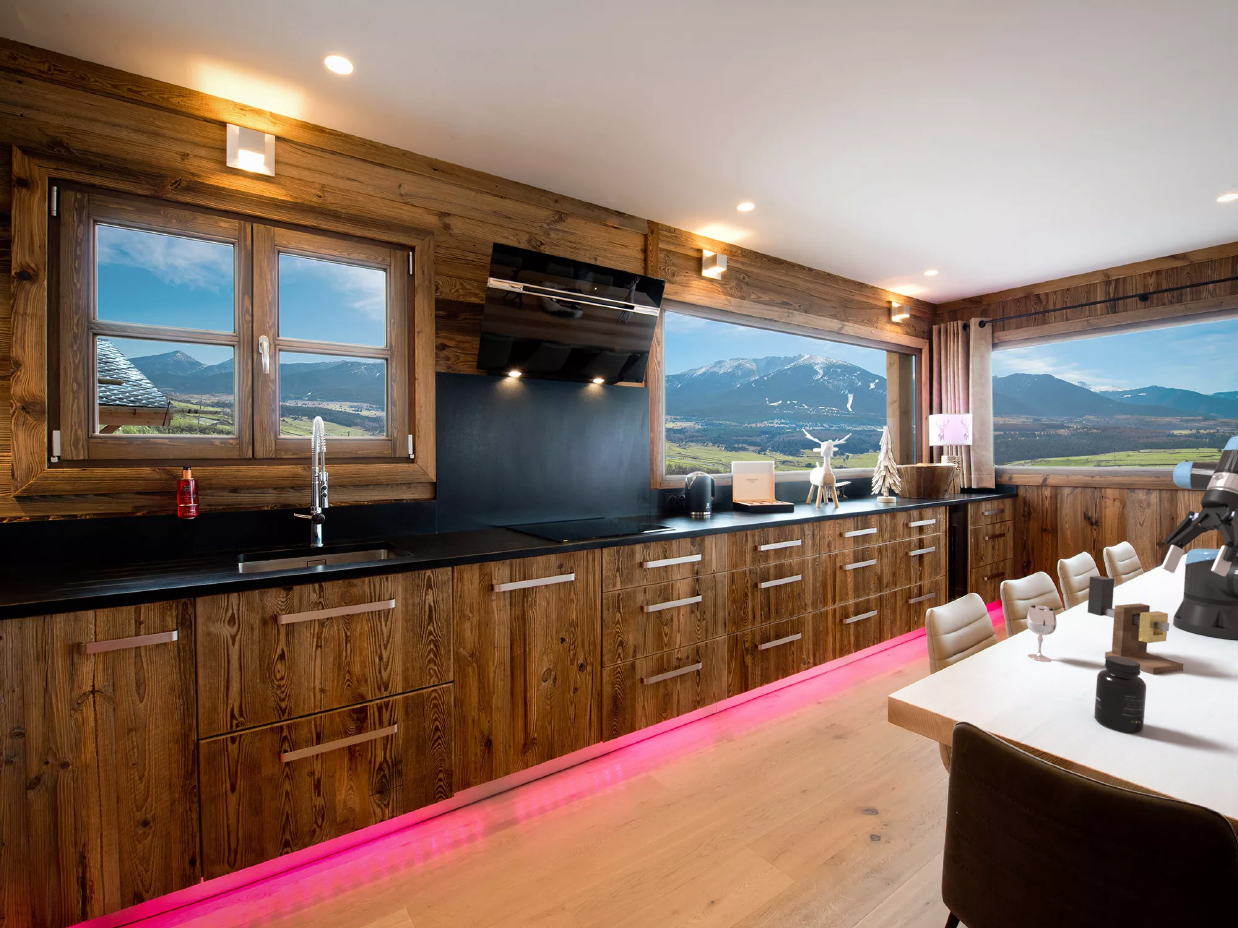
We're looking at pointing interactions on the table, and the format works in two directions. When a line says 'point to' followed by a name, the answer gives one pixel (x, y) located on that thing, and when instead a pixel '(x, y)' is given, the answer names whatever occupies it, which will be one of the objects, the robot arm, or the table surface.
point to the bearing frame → (1136, 642)
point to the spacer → (1152, 627)
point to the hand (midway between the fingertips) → (1191, 571)
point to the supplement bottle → (1120, 695)
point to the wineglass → (1041, 626)
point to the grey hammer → (1110, 601)
